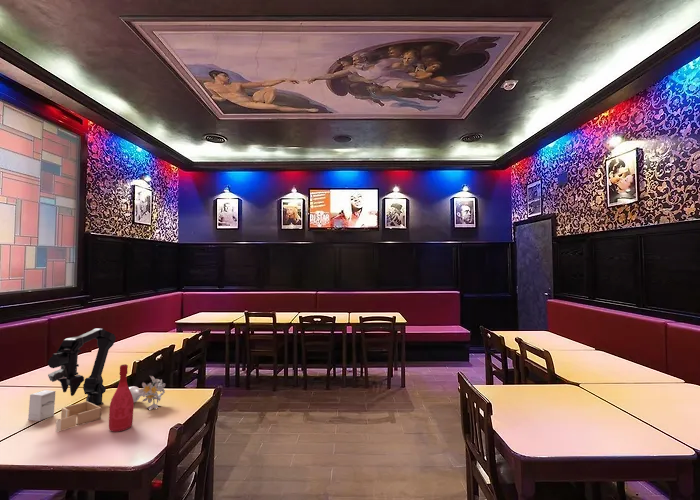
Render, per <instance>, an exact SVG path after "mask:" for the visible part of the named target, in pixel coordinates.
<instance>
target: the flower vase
mask: <svg viewBox="0 0 700 500" xmlns="http://www.w3.org/2000/svg"><path fill="white" fill-rule="evenodd" d="M149 377H150V380H151V381H152V382H149V383H147V384H146V382H142V383H141V386H142V388H139V387H138V386H134V385H133V386H128V387H129V390H130V392H131V394H132V397H133V401H134V404H135V403H137V402H138V401H139V399H140V398H141V397H143V398H144V399H142V402H147V403H149V404H150V406H148V407H146V408H148V409H149V410H150V411H151V409H152V410H153V409H154V410H156V409H155V408H159V407H158V406H161V405H159V404H158V403H159V402H160V401H161V399H162V396H163V395H164V394H165V393H166V391H165V387H166V383H163V379H159V378H155V377H154V376H153V375H149ZM158 392H160V393H158ZM155 400H156V402H155ZM152 401H153V402H152ZM151 403H152V404H151Z"/></svg>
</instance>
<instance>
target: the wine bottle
mask: <svg viewBox="0 0 700 500" xmlns="http://www.w3.org/2000/svg"><path fill="white" fill-rule="evenodd" d="M128 367H129V366H128V365H127V364H121V365H119V383H118V386H117V388H116V390H115V392H114V394H113V396H112V398H111V400H110V404H109V409H108V411H109V412H108V414H109V415H108V429H109V431H110V432H115V433H117V432H123V431H126V430H129V429H130V428H131V427H132V426H133V422H134V421H133V420H134V410H135V409H134V408H135V407H134V406H135V405H134V404H135V403H134V401H133V397H132V394H131V392H130V390H129V387H130V386H129V385H128V381H127V374H128Z"/></svg>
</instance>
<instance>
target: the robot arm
mask: <svg viewBox="0 0 700 500" xmlns="http://www.w3.org/2000/svg"><path fill="white" fill-rule="evenodd" d="M94 339H95V340H96V344H97V345H96V346H97V348H98V350H97V354H96V356H95V359H94V364H93V366H92V370H91V373H90V375H89V376H88V377H85V376H83V375H81V374H79V372H78V367H79V366H80V364H78V355H79V353H81V352H82V350H81V348H82V347H83V346H84V344H85V343H87V342H90V341H92V340H94ZM115 342H116V336H115V333H112V332H110V331H109V330H108V331H107V330H106V329H104V328H101V327H100V328H93V329H92V330H90V331H87V332H86V333H82V334H80V335H77V336H72V337H67V338H65V339H63V341H62V342H61V343H60V346H59V347H58V349H57V350H56V353H52V356H50V357H49V359H48V360H47V365H48V367H49V368H51V369H56V368H59V369H57V370H54V371H53V372H50V373H48V374H47V377H48V379H49V381H50V382H52V383H53V382H56V381H58V382H60V386H61V389H62V392H63V393H67V390H68V389H69V390H70V391H69V392H70V396H71V397H74V396H75V394H76V392H78V391H77V390H78V389H79V388H80V386H81V384H82V383H83V384H82V387H83V388H82V389H83V393H84V395H87V396H86V399H85V402H86V401H88V402H90V403H92V404H95V405H97V406H99V405H103V404H104V401H103V395H104V393H105V392H106V390H107V387H106V386H105V385H103V384H104V383H103V382H104V379H103V376H102V374H103V372H104V367H105V364H106V361H107V358H108V353H109V350H110V349H111V348H112V346H114V344H115Z"/></svg>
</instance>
